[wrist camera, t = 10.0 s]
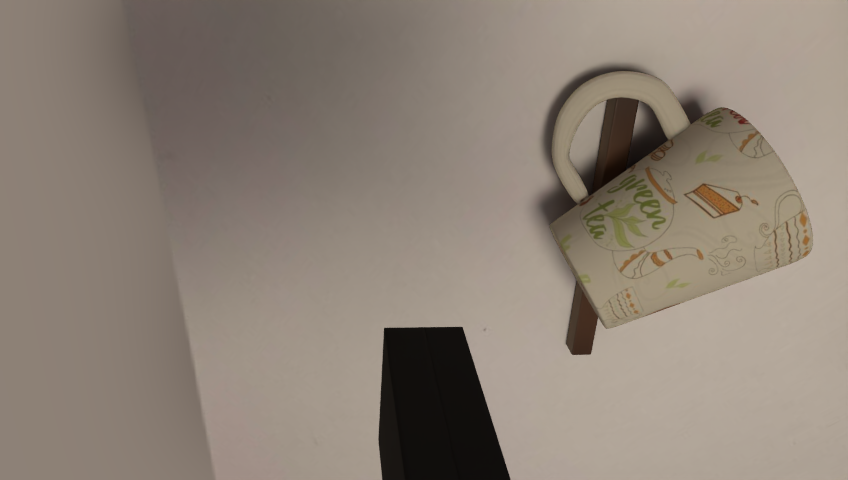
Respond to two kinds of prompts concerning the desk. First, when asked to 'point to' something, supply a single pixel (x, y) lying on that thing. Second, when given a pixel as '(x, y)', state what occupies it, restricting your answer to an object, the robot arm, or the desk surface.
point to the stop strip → (607, 169)
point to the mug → (675, 207)
